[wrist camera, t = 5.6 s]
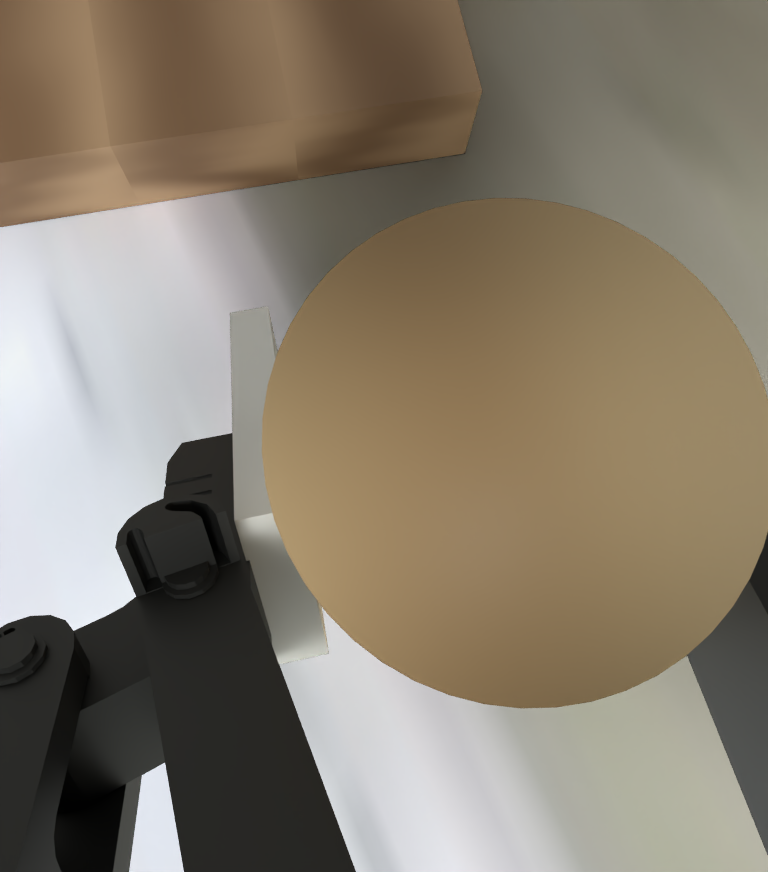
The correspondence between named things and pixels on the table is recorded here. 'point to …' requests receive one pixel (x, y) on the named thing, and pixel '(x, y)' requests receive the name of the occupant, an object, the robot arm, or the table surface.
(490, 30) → the table surface
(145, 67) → the board
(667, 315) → the peg
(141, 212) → the table surface
